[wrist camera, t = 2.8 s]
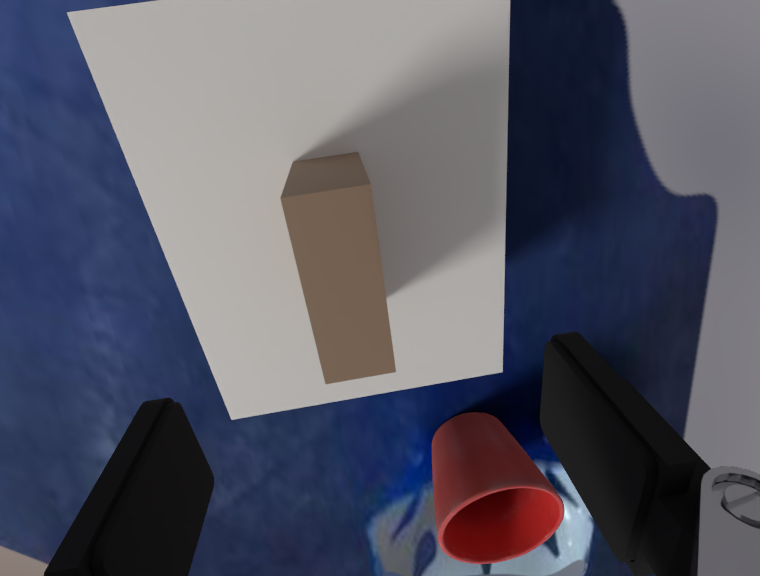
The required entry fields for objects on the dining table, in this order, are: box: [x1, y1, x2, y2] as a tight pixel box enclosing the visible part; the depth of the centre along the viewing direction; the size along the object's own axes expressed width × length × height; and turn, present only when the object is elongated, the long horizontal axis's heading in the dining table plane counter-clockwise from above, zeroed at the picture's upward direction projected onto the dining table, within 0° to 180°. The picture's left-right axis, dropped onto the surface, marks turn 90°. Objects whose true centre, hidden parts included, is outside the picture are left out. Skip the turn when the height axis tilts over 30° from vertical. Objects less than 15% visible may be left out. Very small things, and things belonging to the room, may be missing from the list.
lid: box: [67, 0, 510, 420], centre depth 19 cm, size 21×17×8 cm
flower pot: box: [432, 412, 564, 564], centre depth 39 cm, size 11×11×10 cm
